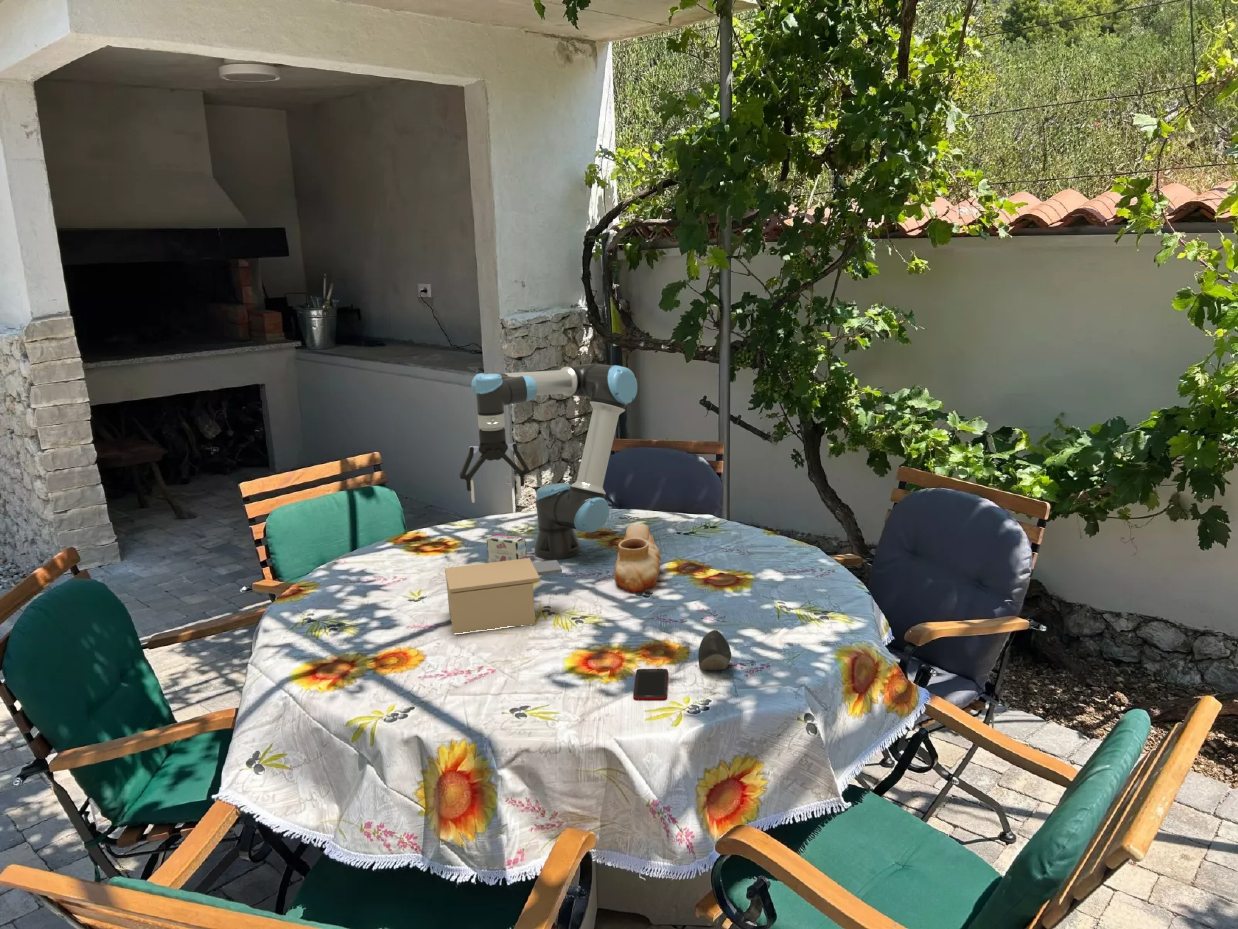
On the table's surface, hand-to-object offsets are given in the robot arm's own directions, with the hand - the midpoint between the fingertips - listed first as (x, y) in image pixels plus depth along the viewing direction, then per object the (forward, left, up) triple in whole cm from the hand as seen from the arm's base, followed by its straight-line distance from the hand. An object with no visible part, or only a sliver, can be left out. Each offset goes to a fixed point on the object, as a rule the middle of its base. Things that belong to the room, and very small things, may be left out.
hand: (496, 499), depth 275 cm
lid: (+2, +20, -16) cm, 26 cm away
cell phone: (-25, +72, -29) cm, 82 cm away
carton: (+6, +20, -29) cm, 35 cm away
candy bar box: (-2, -1, -29) cm, 29 cm away
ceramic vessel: (-41, +4, -29) cm, 50 cm away
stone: (-42, +69, -29) cm, 86 cm away
